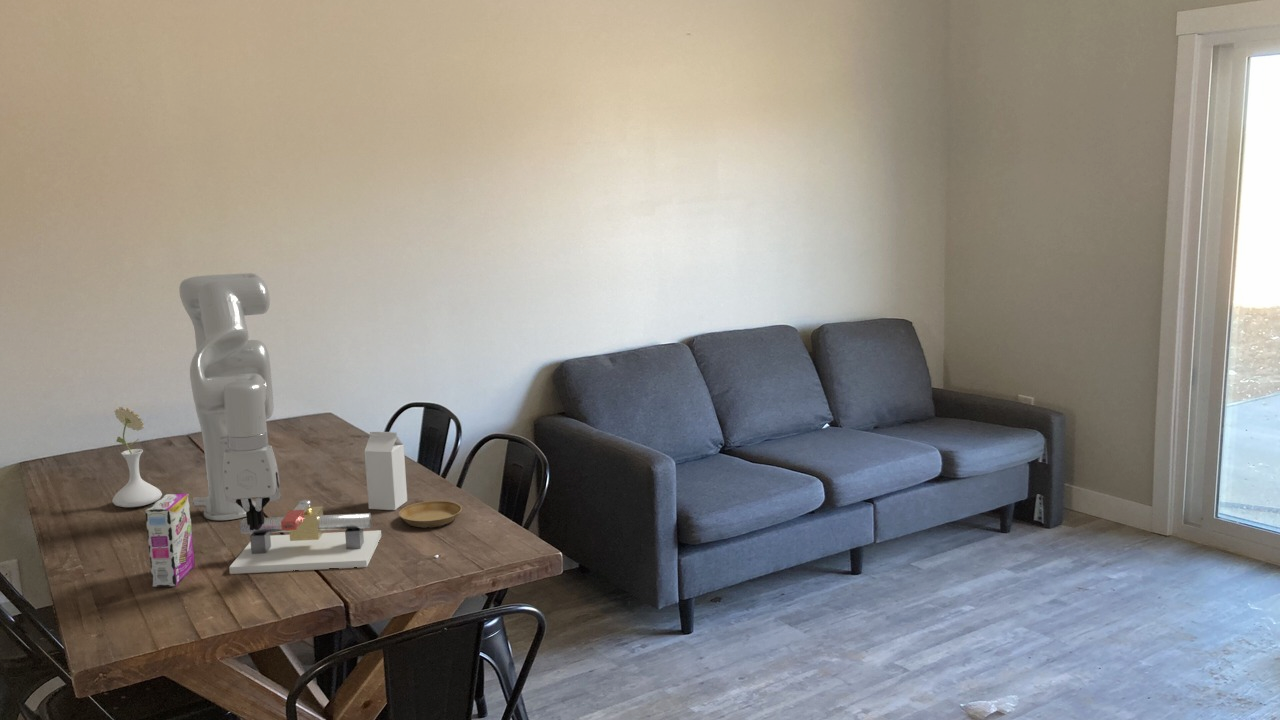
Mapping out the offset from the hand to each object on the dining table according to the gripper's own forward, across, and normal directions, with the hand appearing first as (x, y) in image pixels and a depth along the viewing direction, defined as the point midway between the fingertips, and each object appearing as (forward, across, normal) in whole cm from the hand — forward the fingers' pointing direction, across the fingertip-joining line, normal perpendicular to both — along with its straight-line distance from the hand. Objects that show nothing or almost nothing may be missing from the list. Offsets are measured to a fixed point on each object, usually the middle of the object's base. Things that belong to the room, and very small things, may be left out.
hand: (256, 527), depth 204 cm
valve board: (+10, +8, +10) cm, 16 cm away
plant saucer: (+11, +32, +29) cm, 44 cm away
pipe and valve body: (+9, +7, +10) cm, 15 cm away
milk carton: (+10, +20, +41) cm, 47 cm away
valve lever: (0, +7, +4) cm, 8 cm away
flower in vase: (+10, -45, +52) cm, 70 cm away
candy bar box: (+10, -18, +1) cm, 20 cm away
